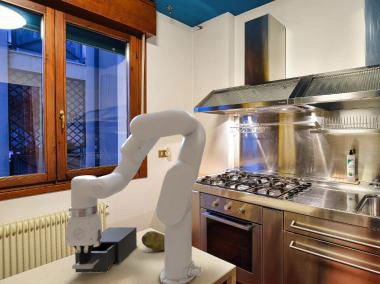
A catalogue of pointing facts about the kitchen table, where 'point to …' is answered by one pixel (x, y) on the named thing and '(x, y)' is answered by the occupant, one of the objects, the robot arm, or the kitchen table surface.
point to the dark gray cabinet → (121, 240)
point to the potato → (153, 240)
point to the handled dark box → (97, 259)
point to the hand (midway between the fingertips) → (85, 262)
